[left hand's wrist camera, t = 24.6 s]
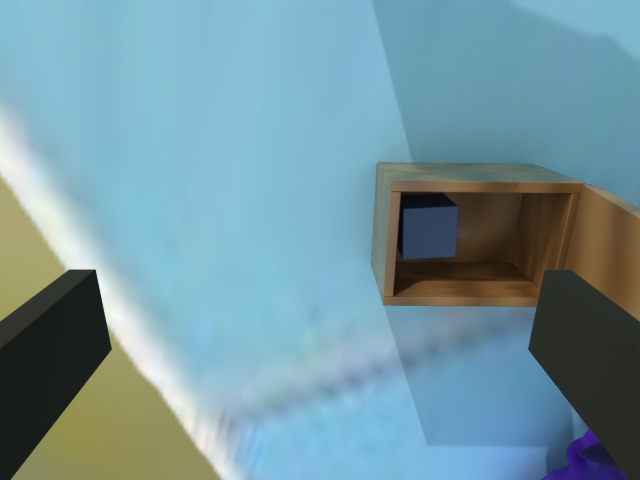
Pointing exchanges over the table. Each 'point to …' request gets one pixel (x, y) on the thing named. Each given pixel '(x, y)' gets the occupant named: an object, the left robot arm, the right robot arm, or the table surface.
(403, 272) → the chest
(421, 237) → the block
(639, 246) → the lid
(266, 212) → the table surface
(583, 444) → the toy
